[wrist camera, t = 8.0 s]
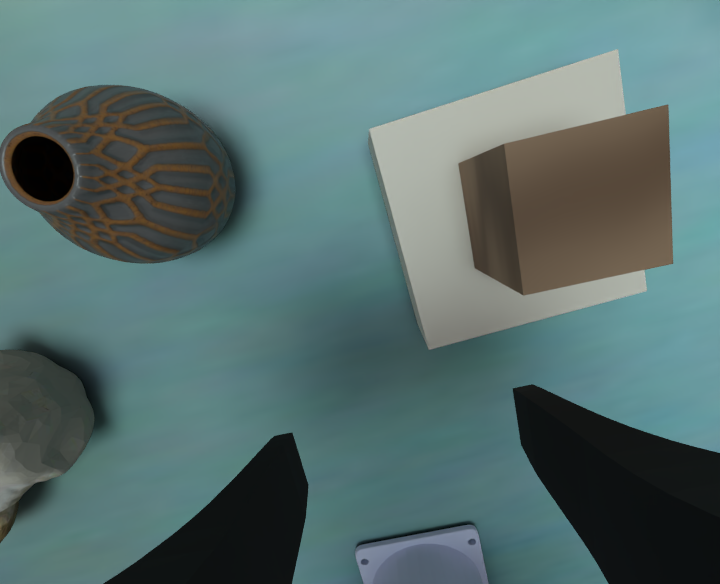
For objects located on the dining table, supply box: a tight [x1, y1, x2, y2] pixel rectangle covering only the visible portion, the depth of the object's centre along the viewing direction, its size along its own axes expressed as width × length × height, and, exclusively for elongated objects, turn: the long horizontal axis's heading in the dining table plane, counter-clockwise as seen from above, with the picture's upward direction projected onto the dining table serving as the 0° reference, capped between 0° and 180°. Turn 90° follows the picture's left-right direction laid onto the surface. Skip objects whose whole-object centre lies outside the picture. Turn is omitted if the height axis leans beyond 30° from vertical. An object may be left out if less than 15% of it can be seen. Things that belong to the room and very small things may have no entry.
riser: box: [368, 49, 647, 350], centre depth 18 cm, size 10×10×4 cm
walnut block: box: [458, 105, 673, 296], centre depth 13 cm, size 4×4×5 cm
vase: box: [0, 85, 235, 263], centre depth 15 cm, size 7×7×9 cm
